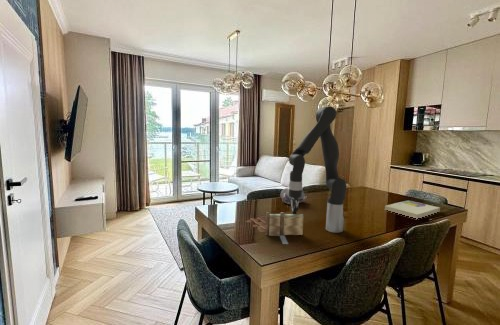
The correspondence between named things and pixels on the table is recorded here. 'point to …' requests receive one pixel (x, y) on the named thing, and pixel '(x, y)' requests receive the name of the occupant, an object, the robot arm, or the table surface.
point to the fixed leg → (274, 224)
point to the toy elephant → (287, 198)
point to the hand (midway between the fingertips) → (294, 217)
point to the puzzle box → (412, 209)
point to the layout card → (281, 238)
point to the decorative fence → (259, 223)
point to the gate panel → (293, 224)
